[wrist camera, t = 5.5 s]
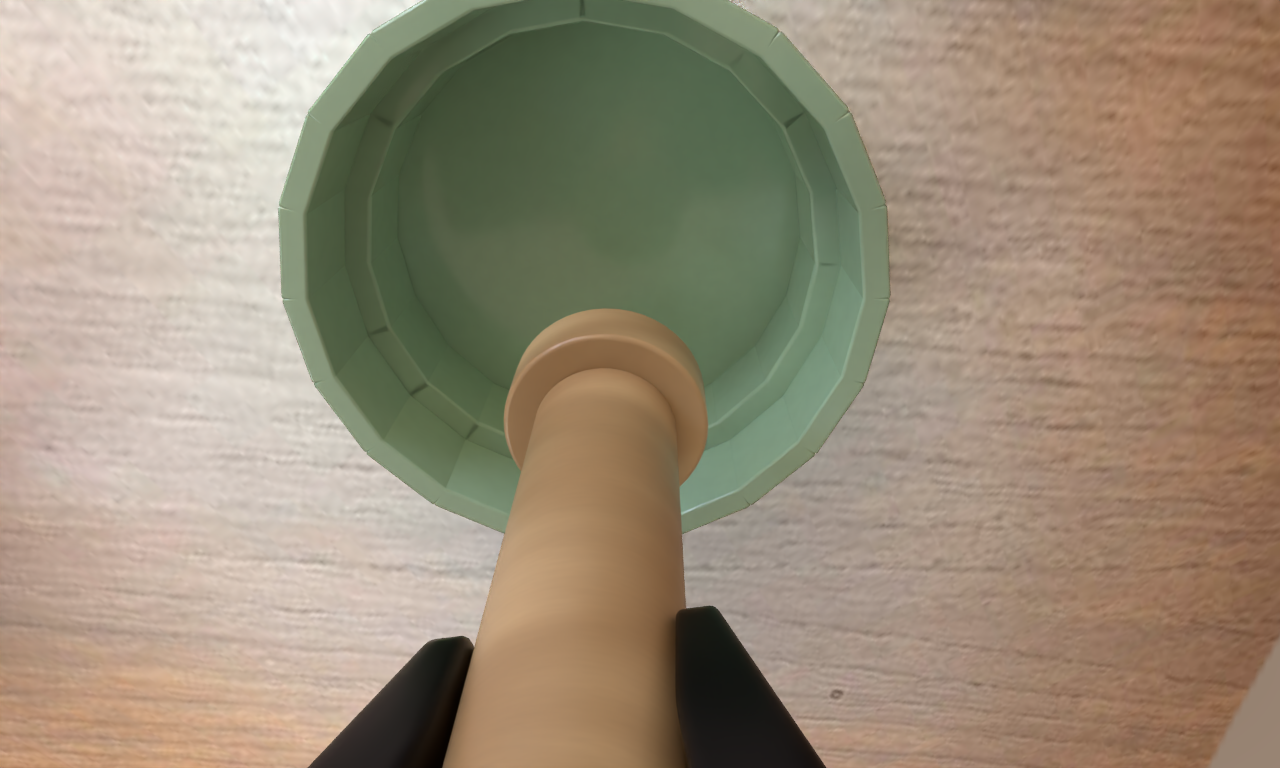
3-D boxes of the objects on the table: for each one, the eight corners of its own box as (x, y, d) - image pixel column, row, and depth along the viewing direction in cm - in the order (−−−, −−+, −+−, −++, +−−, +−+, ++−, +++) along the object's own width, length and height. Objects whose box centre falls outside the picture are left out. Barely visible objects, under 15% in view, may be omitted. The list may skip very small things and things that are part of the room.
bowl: (817, -80, 17) (875, -102, 12) (848, 399, 22) (899, 510, 17) (299, 16, 18) (180, 29, 13) (437, 456, 23) (382, 575, 18)
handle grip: (690, 292, 13) (870, 1797, 2) (715, 463, 15) (905, 1920, 4) (494, 322, 14) (-184, 1799, 3) (536, 487, 15) (216, 1910, 4)
